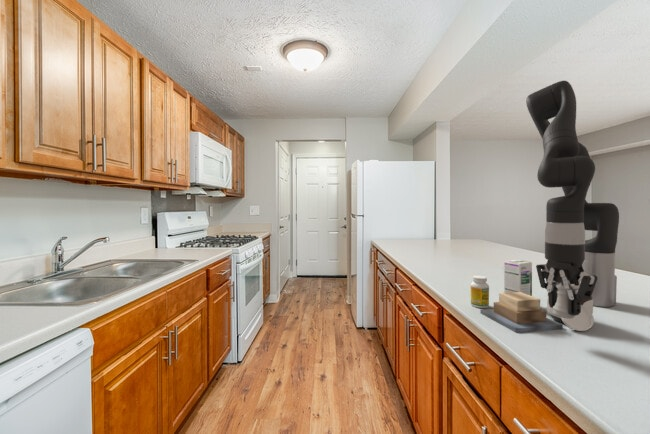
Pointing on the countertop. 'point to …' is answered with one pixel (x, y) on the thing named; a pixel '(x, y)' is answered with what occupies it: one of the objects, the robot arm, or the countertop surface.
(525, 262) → the syrup box
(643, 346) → the countertop surface
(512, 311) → the block tower
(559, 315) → the rook chess piece
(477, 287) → the supplement bottle
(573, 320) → the spread jar
